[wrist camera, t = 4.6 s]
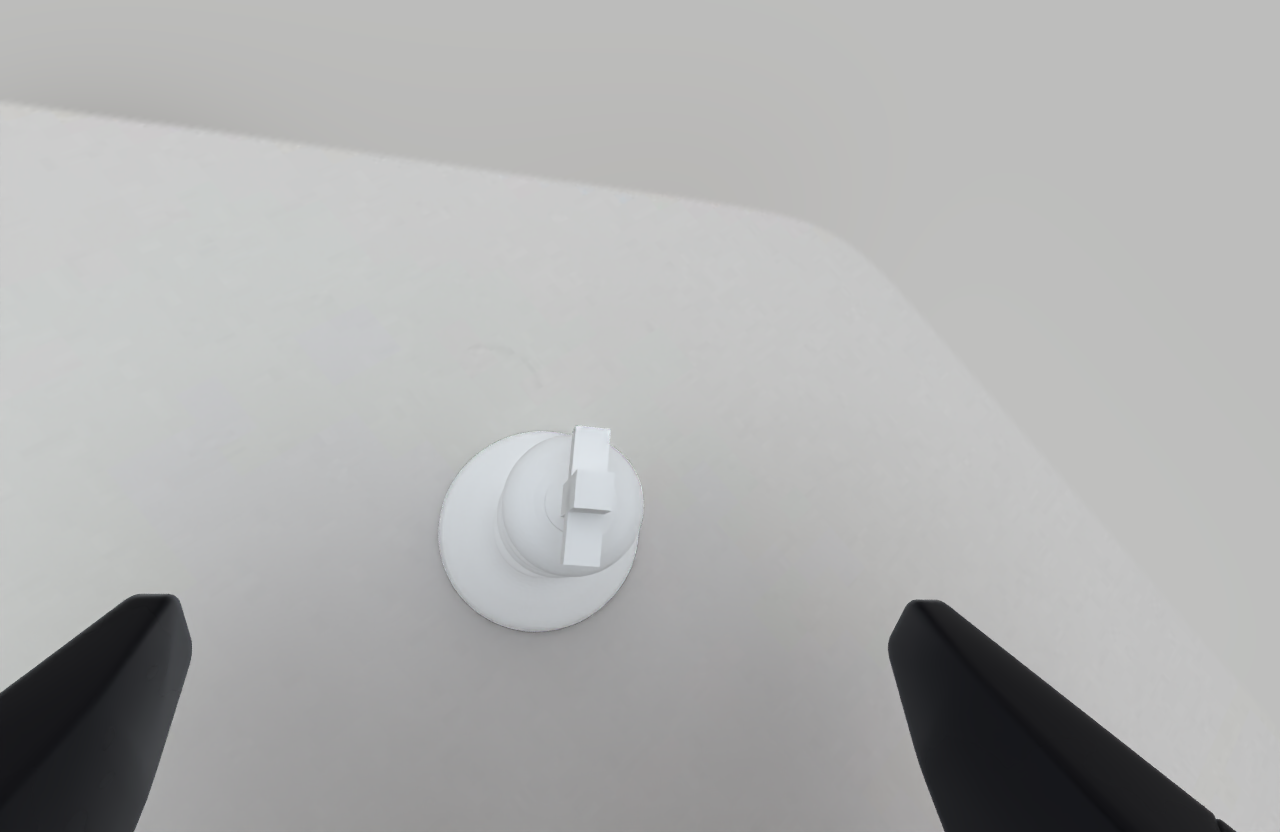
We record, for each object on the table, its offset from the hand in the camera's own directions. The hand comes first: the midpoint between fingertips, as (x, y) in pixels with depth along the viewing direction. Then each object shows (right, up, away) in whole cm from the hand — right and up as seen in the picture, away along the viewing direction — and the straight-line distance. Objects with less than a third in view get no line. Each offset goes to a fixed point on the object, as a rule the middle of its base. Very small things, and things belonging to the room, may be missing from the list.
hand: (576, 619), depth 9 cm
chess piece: (-2, 0, +9) cm, 9 cm away
